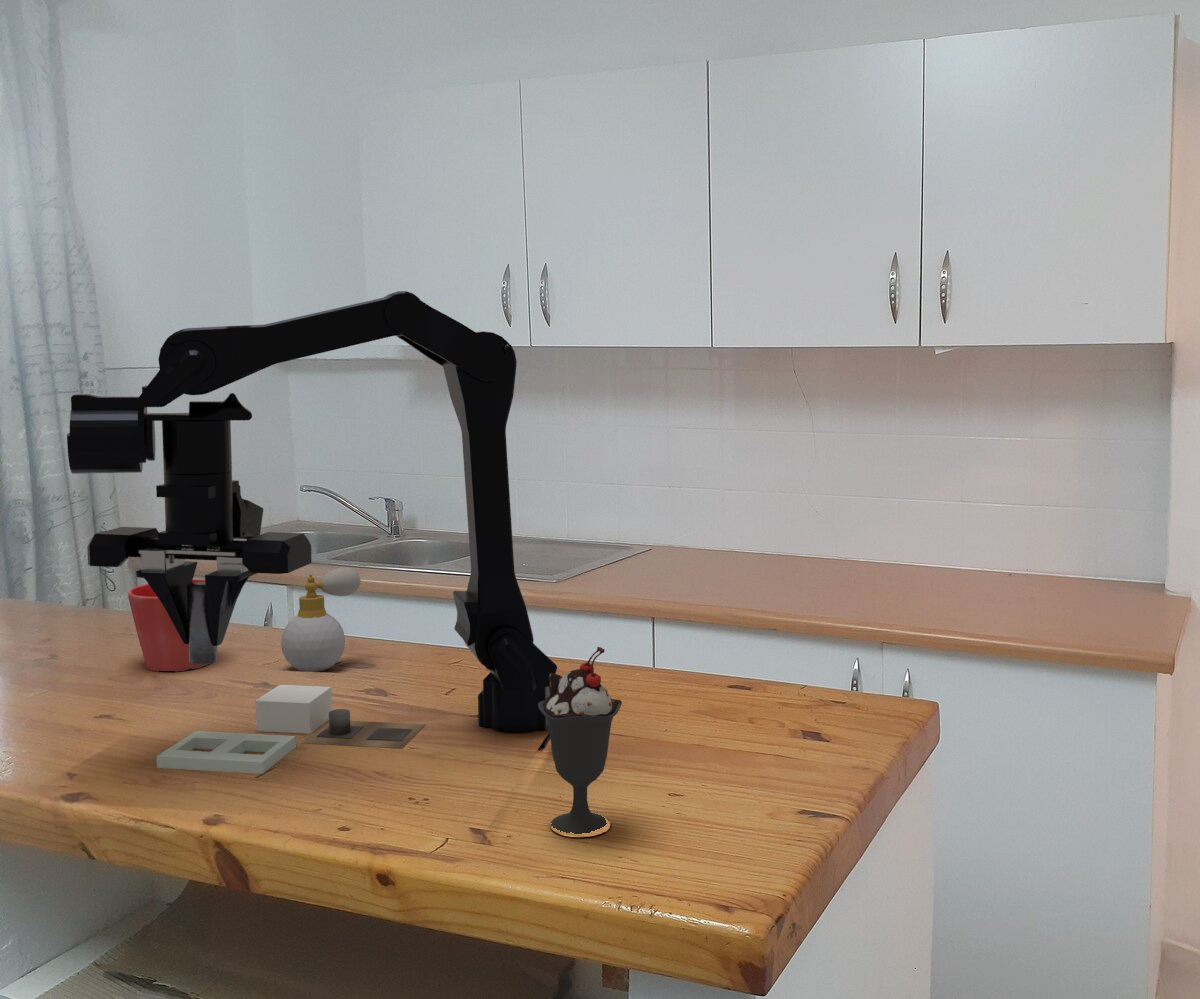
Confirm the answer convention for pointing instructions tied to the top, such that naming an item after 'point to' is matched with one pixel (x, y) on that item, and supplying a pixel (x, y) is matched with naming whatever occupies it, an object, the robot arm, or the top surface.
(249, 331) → the robot arm
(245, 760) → the board
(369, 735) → the board
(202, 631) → the peg
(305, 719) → the white rectangular block
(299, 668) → the perfume bottle
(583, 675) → the sundae
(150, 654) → the flower pot
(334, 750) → the top surface
